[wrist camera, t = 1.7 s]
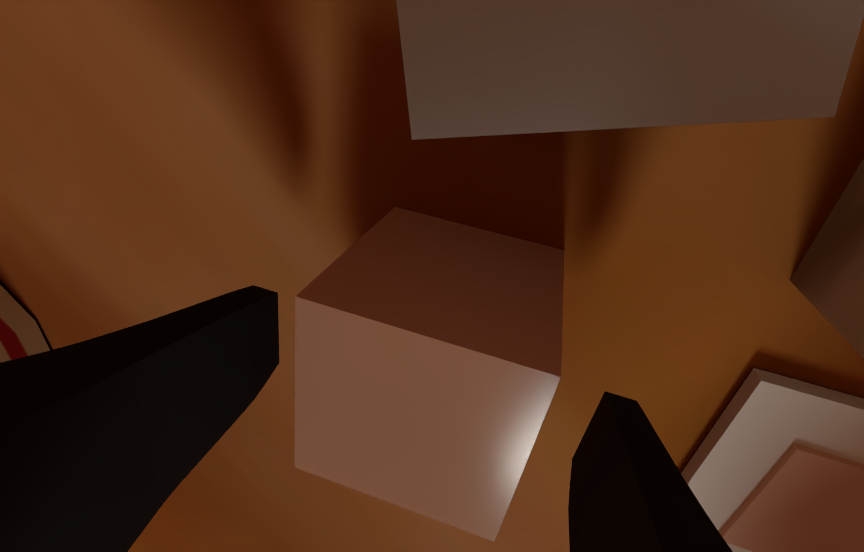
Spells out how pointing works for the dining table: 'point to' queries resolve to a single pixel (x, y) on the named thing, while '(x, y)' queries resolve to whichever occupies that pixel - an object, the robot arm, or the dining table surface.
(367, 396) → the terracotta block
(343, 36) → the dining table surface
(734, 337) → the dining table surface
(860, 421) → the tile
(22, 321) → the milk carton
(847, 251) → the birch base block
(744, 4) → the grey painted block
